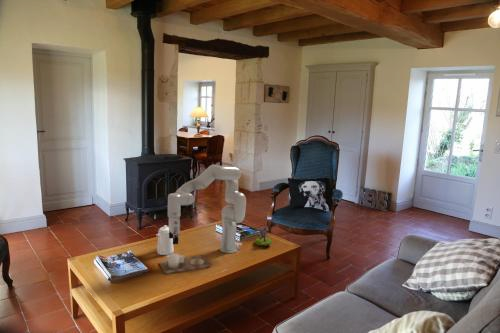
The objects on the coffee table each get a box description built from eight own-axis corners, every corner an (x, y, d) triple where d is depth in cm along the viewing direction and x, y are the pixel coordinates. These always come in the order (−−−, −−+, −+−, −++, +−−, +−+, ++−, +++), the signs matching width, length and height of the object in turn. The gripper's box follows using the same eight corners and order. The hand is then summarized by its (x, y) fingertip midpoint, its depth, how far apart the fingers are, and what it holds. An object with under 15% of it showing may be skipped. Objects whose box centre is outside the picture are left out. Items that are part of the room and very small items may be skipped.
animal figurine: (250, 243, 263) (251, 224, 260) (262, 240, 271) (263, 221, 269) (263, 250, 253) (264, 229, 250) (276, 246, 261) (277, 226, 259)
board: (202, 256, 237) (202, 255, 237) (210, 267, 223) (210, 265, 223) (159, 263, 225) (159, 261, 225) (165, 274, 211) (165, 272, 211)
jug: (168, 270, 216) (168, 258, 215) (165, 265, 222) (165, 254, 221) (185, 267, 221) (185, 256, 219) (182, 263, 227) (182, 251, 225)
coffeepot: (148, 259, 230) (148, 231, 227) (165, 244, 254) (165, 219, 251) (164, 261, 228) (164, 233, 225) (179, 246, 252) (180, 220, 249)
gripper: (184, 217, 209) (183, 245, 212) (176, 209, 225) (176, 235, 228) (171, 218, 206) (170, 247, 209) (164, 210, 222) (164, 236, 224)
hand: (173, 240), depth 218 cm, fingers open, 9 cm apart
